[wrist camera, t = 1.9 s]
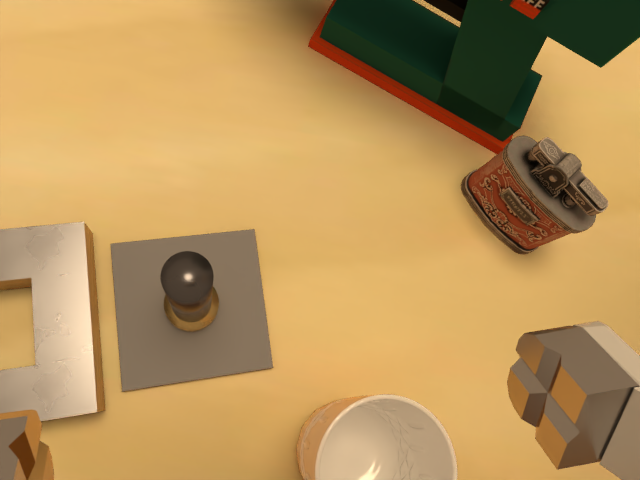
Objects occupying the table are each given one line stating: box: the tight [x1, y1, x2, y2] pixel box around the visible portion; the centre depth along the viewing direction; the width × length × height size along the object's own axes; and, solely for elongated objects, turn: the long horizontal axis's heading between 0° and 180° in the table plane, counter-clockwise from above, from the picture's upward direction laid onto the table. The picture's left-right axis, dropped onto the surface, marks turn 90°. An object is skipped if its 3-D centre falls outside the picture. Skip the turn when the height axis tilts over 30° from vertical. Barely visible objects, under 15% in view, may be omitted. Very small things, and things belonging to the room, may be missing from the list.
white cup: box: [296, 394, 457, 480], centre depth 35 cm, size 8×8×10 cm
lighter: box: [461, 136, 608, 254], centre depth 42 cm, size 8×3×10 cm, turn 42°
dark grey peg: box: [160, 251, 219, 332], centre depth 34 cm, size 4×4×12 cm
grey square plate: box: [111, 229, 273, 391], centre depth 40 cm, size 10×10×1 cm
